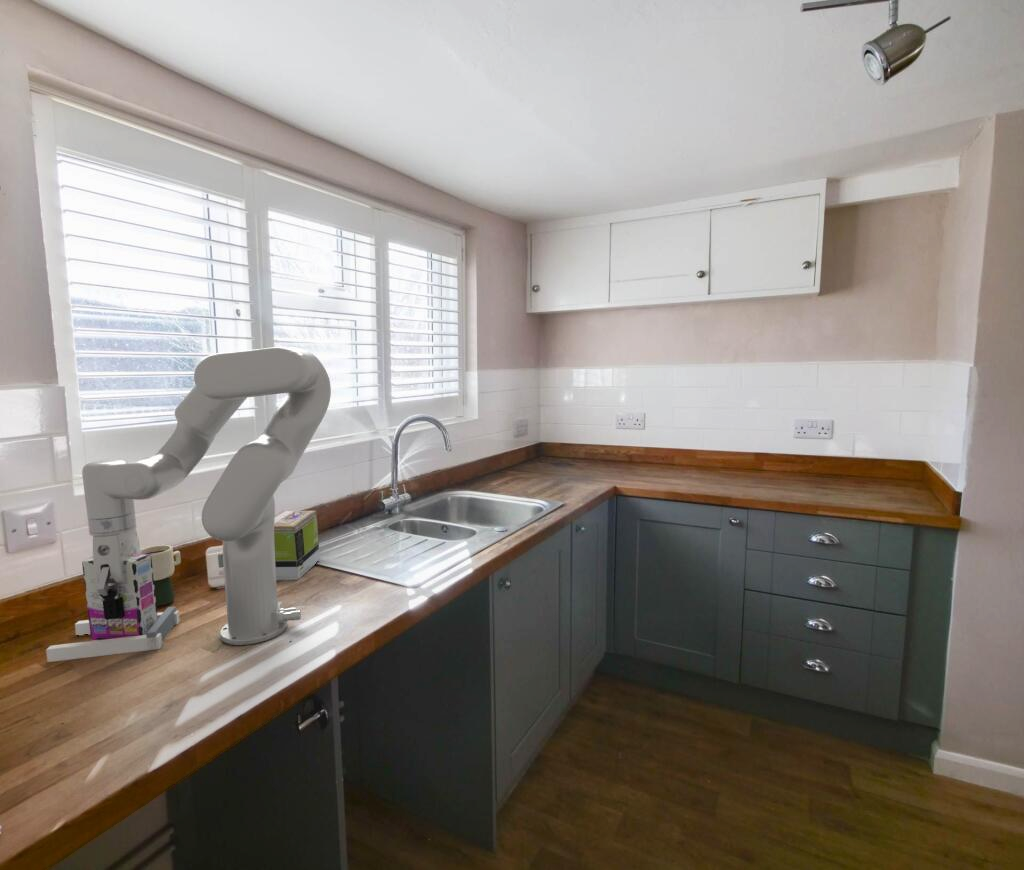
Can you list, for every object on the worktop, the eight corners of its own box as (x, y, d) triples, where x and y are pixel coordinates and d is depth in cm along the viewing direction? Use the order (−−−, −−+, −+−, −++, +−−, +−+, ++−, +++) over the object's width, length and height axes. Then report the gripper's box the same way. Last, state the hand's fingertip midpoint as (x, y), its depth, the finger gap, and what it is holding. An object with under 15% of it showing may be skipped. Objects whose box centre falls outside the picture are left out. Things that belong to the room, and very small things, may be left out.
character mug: (175, 592, 135) (171, 540, 133) (191, 598, 131) (187, 545, 129) (125, 609, 125) (120, 553, 124) (141, 616, 122) (135, 559, 120)
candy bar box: (160, 630, 113) (153, 553, 111) (142, 642, 108) (134, 562, 106) (109, 628, 114) (101, 551, 112) (89, 640, 109) (79, 560, 107)
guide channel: (179, 621, 119) (178, 606, 119) (159, 648, 107) (158, 631, 107) (79, 632, 114) (77, 616, 114) (47, 662, 103) (45, 644, 102)
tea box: (286, 560, 157) (282, 509, 155) (320, 560, 156) (318, 509, 154) (259, 580, 142) (256, 524, 140) (298, 581, 141) (295, 525, 139)
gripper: (115, 534, 101) (125, 627, 103) (150, 510, 117) (159, 591, 120) (67, 538, 99) (79, 633, 101) (110, 513, 116) (119, 595, 118)
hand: (122, 609), depth 110 cm, fingers closed on candy bar box, 6 cm apart
